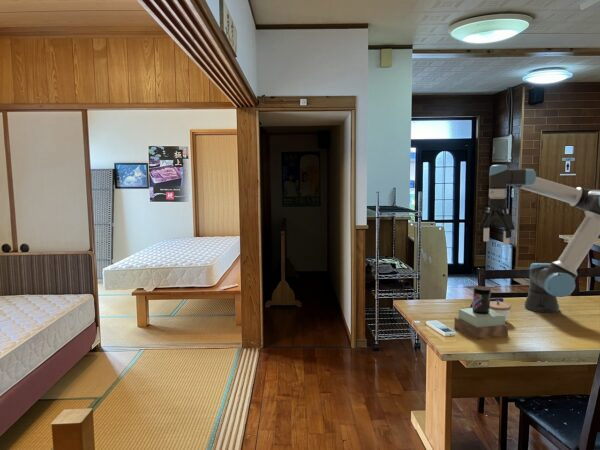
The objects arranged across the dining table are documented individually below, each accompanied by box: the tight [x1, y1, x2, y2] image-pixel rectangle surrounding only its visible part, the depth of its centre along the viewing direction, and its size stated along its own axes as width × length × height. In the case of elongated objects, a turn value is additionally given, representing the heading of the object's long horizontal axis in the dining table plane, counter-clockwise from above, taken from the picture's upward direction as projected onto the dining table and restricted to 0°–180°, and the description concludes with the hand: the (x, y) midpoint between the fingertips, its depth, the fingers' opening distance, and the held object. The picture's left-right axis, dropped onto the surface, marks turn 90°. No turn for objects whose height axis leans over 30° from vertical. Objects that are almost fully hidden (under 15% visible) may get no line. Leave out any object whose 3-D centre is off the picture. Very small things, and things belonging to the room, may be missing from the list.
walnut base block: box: [453, 316, 509, 340], centre depth 182 cm, size 15×15×5 cm
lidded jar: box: [490, 301, 512, 322], centre depth 196 cm, size 11×11×9 cm
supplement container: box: [472, 285, 492, 314], centre depth 181 cm, size 7×7×10 cm
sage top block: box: [457, 307, 506, 328], centre depth 182 cm, size 13×13×4 cm
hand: (495, 243), depth 202 cm, fingers open, 13 cm apart
